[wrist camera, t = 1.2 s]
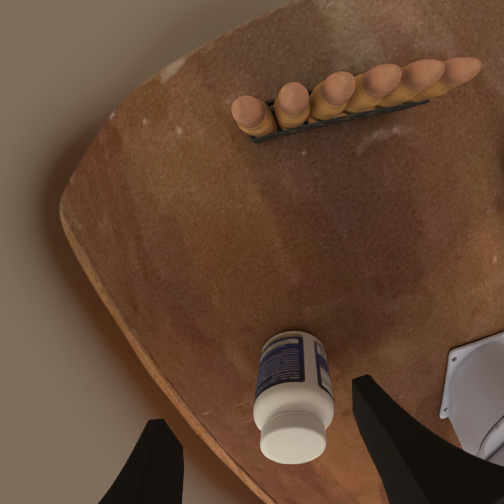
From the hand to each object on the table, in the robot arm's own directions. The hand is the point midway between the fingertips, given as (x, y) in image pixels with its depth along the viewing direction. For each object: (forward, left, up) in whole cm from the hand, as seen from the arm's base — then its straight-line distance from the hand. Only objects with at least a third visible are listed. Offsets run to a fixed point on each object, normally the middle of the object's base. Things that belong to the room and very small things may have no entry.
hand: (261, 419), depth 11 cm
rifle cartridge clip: (+11, -6, -14) cm, 19 cm away
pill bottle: (-7, 0, -14) cm, 16 cm away
